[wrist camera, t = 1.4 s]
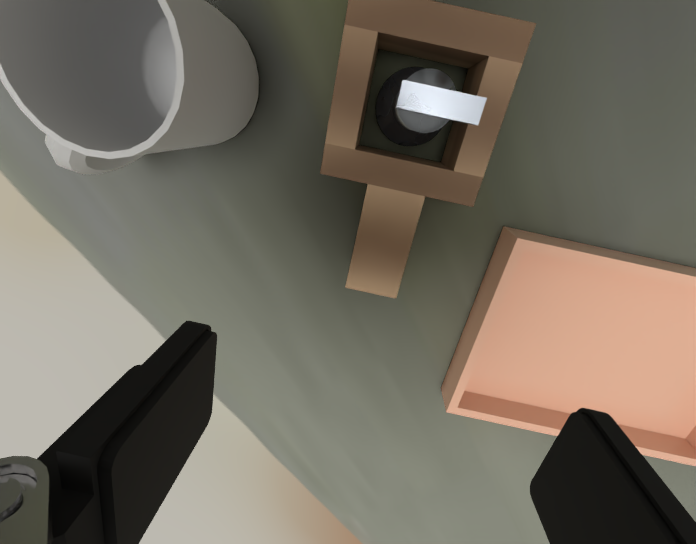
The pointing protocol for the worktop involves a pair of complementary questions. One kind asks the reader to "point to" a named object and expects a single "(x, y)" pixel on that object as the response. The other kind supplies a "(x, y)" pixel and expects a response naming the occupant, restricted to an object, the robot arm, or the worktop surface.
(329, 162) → the brown square frame
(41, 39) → the cup
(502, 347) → the tray
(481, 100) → the grey piece
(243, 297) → the worktop surface
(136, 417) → the robot arm
